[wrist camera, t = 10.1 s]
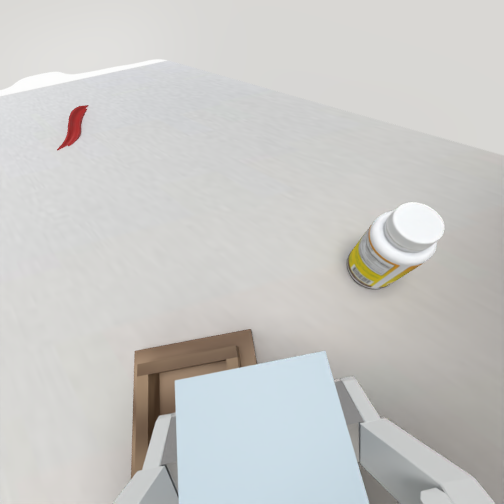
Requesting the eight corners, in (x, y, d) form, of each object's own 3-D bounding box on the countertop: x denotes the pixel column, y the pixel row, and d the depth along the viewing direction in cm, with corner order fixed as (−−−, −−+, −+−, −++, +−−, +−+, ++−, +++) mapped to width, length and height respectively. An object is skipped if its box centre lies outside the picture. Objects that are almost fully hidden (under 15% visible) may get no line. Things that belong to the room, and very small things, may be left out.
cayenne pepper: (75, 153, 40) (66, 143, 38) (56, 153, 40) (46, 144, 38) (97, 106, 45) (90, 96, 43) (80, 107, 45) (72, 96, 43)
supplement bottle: (393, 251, 29) (453, 199, 20) (394, 294, 27) (461, 259, 18) (346, 242, 30) (383, 189, 21) (343, 284, 28) (382, 245, 19)
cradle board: (141, 351, 26) (121, 349, 22) (251, 330, 26) (249, 325, 23) (139, 499, 21) (112, 527, 17) (274, 470, 21) (276, 492, 18)
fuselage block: (221, 373, 13) (174, 380, 6) (291, 360, 14) (325, 350, 6) (230, 465, 12) (182, 620, 4) (311, 447, 12) (388, 570, 5)
